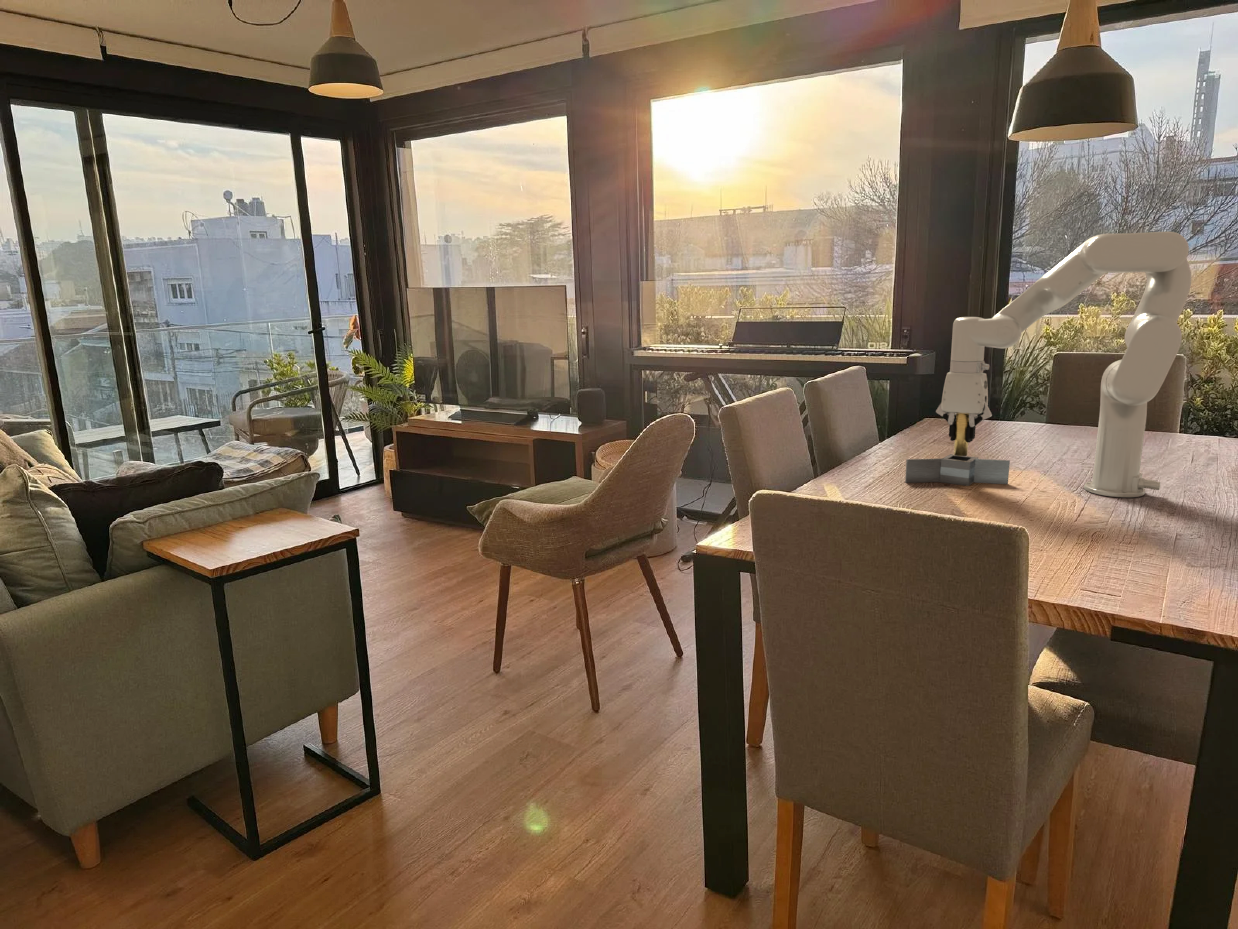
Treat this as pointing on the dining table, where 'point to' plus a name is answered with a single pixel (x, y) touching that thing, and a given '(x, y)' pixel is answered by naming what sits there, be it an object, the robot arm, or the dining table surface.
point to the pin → (961, 434)
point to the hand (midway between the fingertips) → (961, 440)
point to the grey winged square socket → (957, 470)
